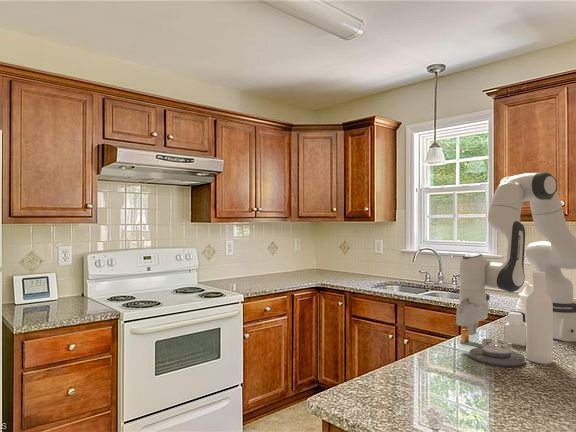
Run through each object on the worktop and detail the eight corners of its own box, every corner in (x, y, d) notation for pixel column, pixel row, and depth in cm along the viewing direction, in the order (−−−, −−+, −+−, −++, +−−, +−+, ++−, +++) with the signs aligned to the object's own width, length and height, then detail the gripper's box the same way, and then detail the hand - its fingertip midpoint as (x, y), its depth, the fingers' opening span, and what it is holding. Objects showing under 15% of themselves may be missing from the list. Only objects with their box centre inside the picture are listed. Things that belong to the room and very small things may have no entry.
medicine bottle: (508, 339, 173) (508, 309, 173) (528, 342, 168) (528, 311, 168) (504, 343, 167) (504, 312, 167) (524, 346, 163) (524, 314, 163)
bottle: (522, 359, 147) (521, 271, 147) (531, 355, 152) (531, 270, 152) (548, 365, 141) (547, 274, 141) (556, 360, 146) (556, 272, 146)
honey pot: (519, 321, 204) (519, 283, 205) (512, 315, 217) (512, 279, 217) (549, 322, 201) (549, 284, 202) (540, 316, 214) (540, 280, 214)
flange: (515, 353, 154) (515, 348, 154) (532, 369, 138) (532, 363, 138) (465, 350, 158) (465, 345, 158) (475, 365, 141) (475, 360, 141)
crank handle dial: (515, 353, 148) (515, 335, 148) (505, 359, 141) (505, 340, 141) (467, 343, 160) (466, 326, 160) (455, 348, 154) (455, 331, 154)
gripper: (468, 301, 151) (468, 341, 151) (491, 295, 165) (491, 331, 165) (451, 299, 155) (451, 337, 155) (475, 293, 169) (475, 328, 169)
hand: (472, 334), depth 160 cm, fingers closed
